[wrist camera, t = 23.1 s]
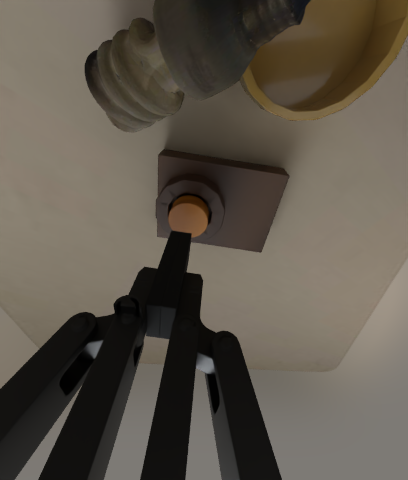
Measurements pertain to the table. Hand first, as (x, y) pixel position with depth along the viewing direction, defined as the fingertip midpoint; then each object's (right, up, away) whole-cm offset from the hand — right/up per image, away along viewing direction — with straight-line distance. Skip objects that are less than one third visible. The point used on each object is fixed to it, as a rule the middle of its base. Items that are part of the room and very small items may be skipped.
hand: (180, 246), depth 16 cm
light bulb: (+7, +11, -7) cm, 15 cm away
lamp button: (0, +3, +5) cm, 6 cm away
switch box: (+3, +5, +8) cm, 10 cm away
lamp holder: (+9, +16, 0) cm, 18 cm away
